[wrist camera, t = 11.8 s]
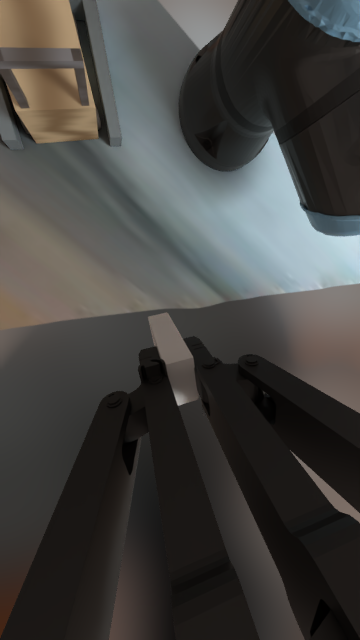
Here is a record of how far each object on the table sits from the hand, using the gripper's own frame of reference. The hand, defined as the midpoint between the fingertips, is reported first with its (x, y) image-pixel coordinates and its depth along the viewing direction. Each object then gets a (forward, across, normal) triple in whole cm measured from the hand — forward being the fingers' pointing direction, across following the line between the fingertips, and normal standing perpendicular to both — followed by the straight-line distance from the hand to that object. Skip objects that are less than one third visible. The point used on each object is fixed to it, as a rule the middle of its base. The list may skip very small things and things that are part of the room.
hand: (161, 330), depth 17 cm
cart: (+25, -5, +25) cm, 36 cm away
